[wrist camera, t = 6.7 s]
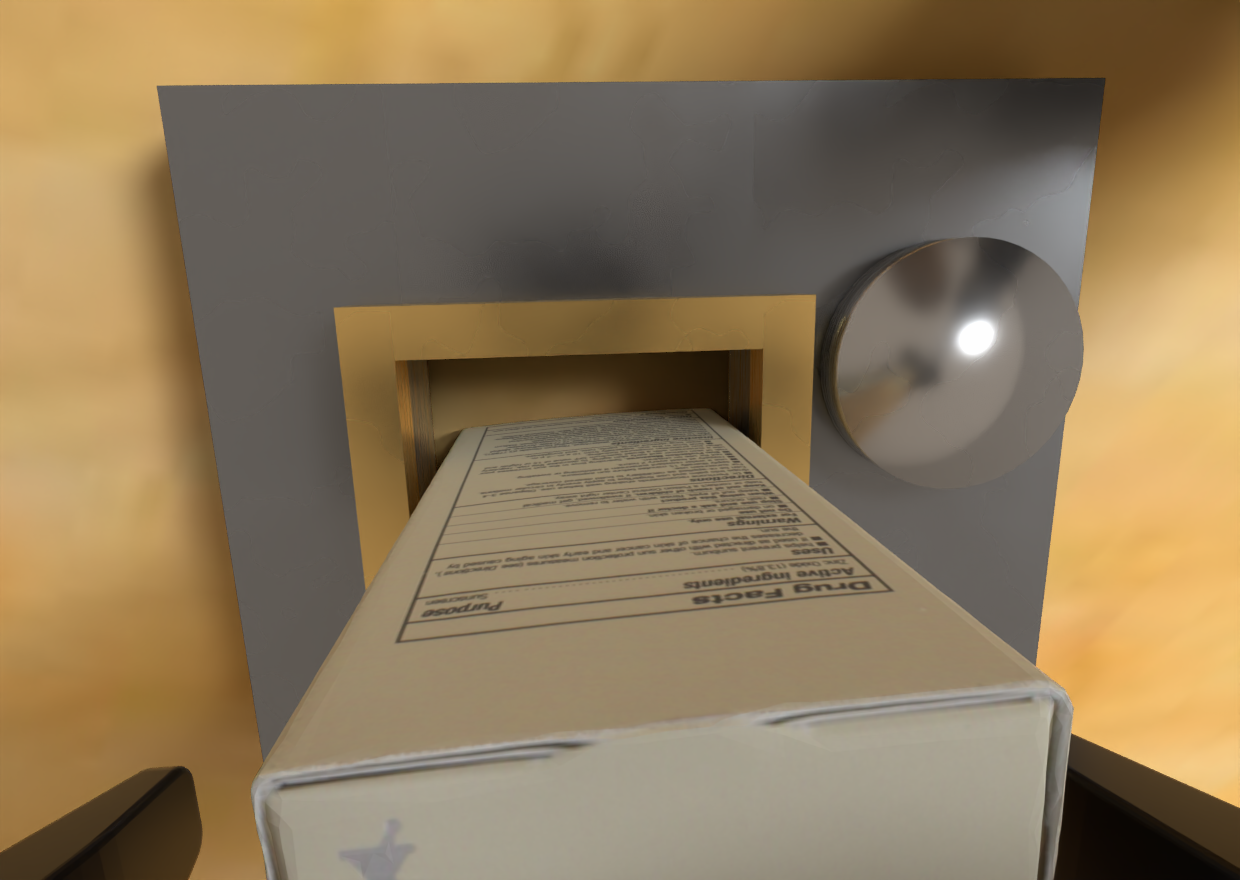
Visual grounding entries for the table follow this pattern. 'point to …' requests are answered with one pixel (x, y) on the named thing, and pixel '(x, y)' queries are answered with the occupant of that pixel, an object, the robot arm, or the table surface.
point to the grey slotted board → (635, 303)
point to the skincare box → (658, 685)
